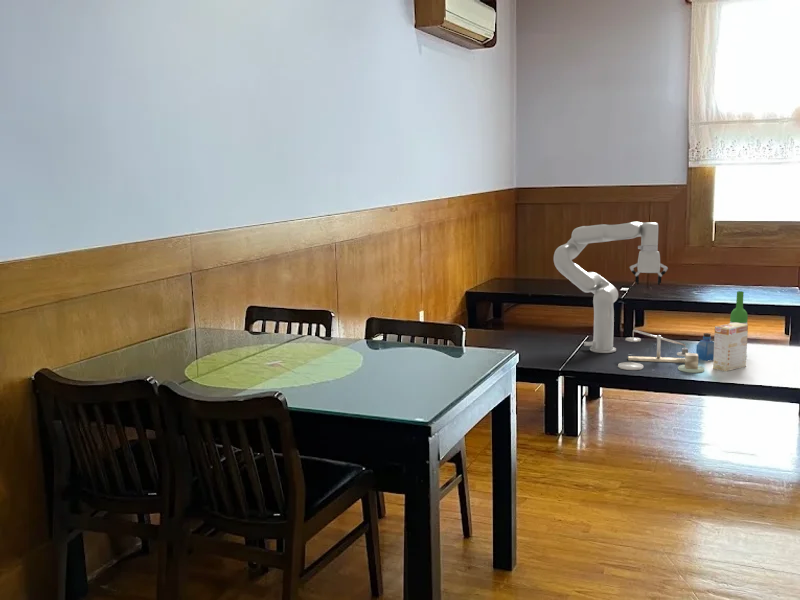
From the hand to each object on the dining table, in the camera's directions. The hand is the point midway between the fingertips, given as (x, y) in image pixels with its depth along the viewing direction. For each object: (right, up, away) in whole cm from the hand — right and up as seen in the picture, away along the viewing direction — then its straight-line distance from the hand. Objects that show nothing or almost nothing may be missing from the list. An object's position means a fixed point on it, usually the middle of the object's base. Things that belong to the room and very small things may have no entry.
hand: (648, 284), depth 382 cm
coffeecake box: (+30, -38, -22) cm, 53 cm away
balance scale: (+3, -36, -7) cm, 37 cm away
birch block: (+12, -38, -25) cm, 46 cm away
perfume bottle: (+26, -35, -5) cm, 44 cm away
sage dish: (+12, -39, -25) cm, 47 cm away
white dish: (-14, -38, -18) cm, 44 cm away
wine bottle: (+45, -33, +6) cm, 56 cm away
